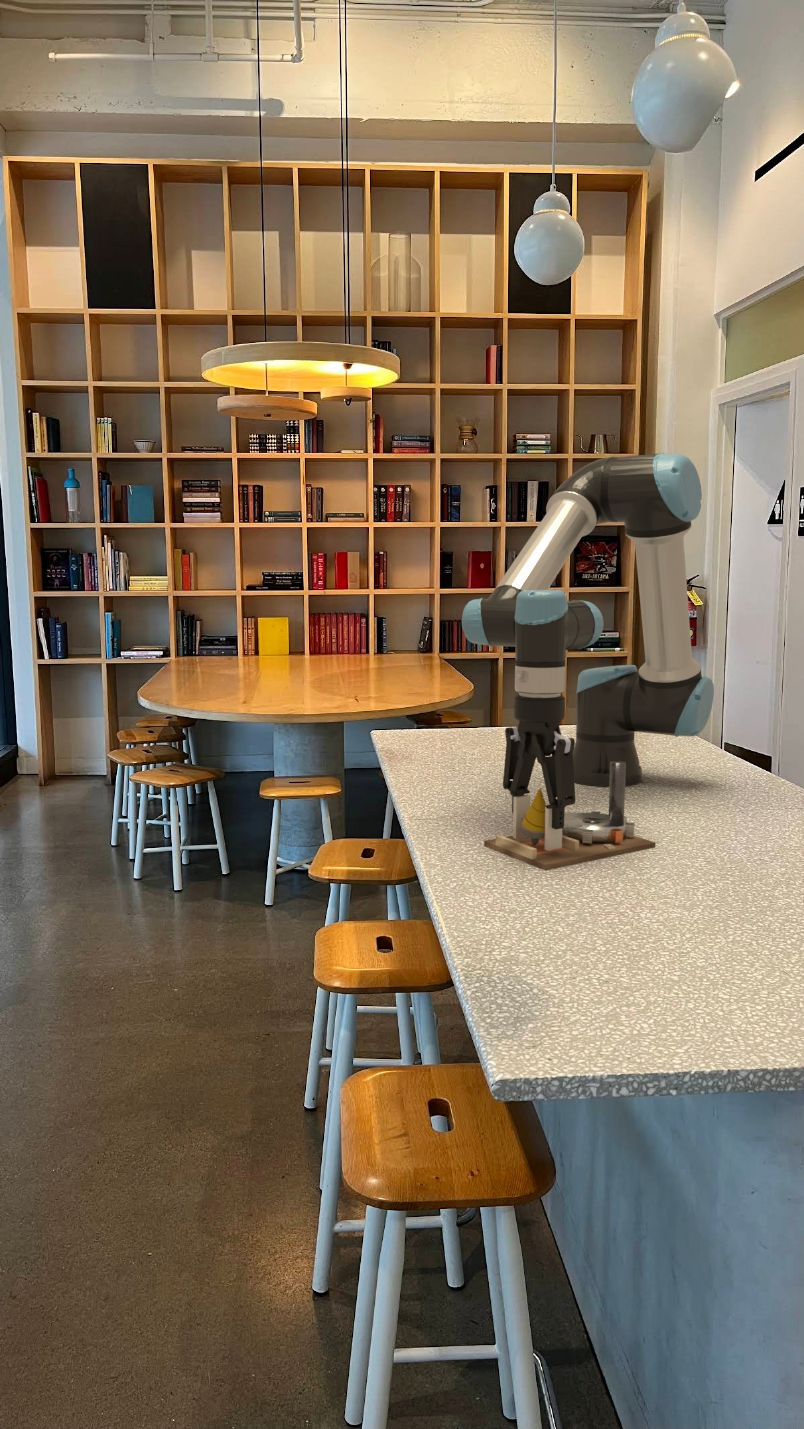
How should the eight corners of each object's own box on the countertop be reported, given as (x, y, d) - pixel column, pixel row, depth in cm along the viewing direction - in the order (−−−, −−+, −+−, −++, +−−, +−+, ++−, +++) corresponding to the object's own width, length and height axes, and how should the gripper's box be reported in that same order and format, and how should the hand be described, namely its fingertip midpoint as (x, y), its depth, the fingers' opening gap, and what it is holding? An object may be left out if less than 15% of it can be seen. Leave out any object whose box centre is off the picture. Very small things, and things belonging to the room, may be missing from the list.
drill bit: (556, 840, 158) (561, 783, 154) (548, 857, 153) (553, 799, 149) (522, 834, 160) (527, 777, 156) (514, 850, 155) (518, 792, 151)
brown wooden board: (484, 846, 160) (484, 831, 160) (589, 827, 172) (590, 813, 171) (545, 871, 148) (545, 854, 147) (655, 848, 159) (655, 833, 159)
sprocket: (585, 847, 154) (587, 771, 152) (533, 828, 166) (534, 756, 164) (651, 836, 160) (654, 762, 159) (597, 818, 172) (599, 749, 170)
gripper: (480, 688, 159) (478, 831, 162) (563, 703, 142) (560, 862, 146) (518, 685, 163) (516, 825, 166) (604, 699, 146) (600, 854, 150)
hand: (536, 842), depth 156 cm, fingers open, 7 cm apart
